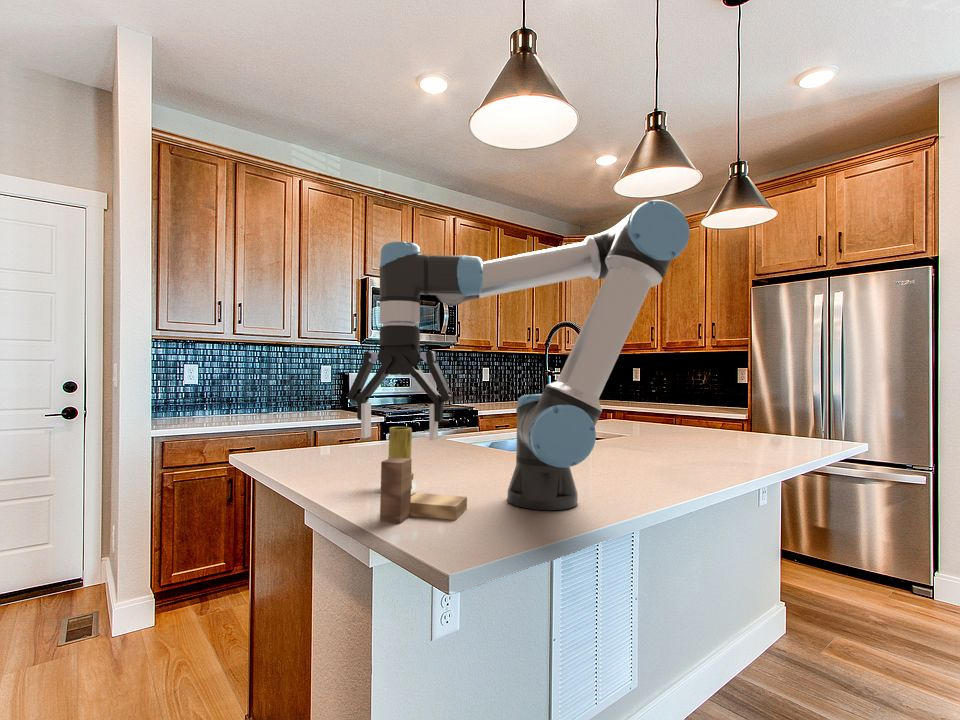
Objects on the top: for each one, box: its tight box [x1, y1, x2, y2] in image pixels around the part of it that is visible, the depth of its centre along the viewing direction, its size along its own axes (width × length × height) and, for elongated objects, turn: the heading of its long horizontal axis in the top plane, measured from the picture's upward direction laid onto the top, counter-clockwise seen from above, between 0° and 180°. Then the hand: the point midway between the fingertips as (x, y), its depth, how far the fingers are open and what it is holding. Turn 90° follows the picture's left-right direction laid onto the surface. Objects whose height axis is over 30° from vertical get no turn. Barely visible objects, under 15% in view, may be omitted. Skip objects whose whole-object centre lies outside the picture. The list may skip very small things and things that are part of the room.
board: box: [410, 491, 468, 521], centre depth 104 cm, size 14×8×3 cm, turn 76°
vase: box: [387, 426, 413, 490], centre depth 124 cm, size 6×6×14 cm
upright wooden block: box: [379, 458, 415, 525], centre depth 101 cm, size 4×10×11 cm, turn 166°
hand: (399, 438), depth 99 cm, fingers open, 13 cm apart
